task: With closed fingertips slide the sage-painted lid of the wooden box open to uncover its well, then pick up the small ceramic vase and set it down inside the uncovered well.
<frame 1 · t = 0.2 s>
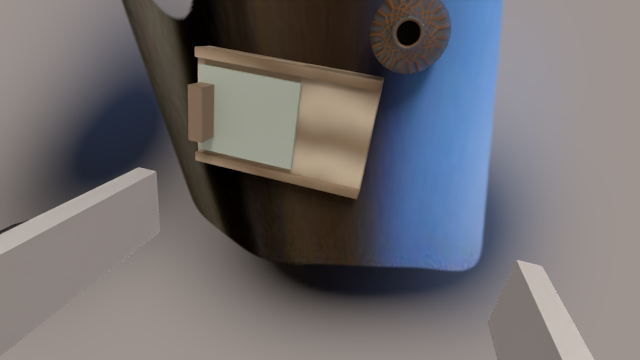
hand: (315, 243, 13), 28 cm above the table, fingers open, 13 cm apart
lid: (242, 120, 38), point 4 cm above the table, slide at 0.0 cm
vase: (409, 33, 34), on the table
wooden box: (287, 118, 41), on the table
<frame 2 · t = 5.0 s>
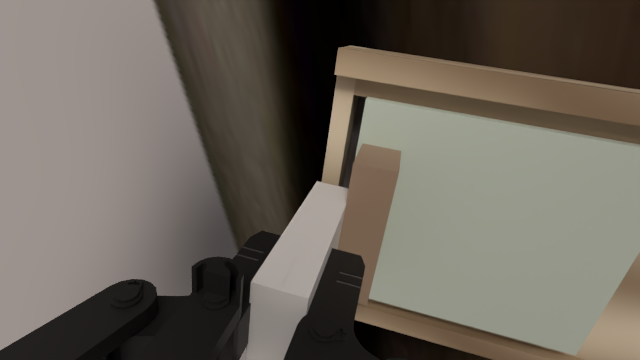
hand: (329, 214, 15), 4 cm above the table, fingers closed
lid: (481, 248, 14), point 4 cm above the table, slide at 0.8 cm, touching gripper
wooden box: (528, 216, 17), on the table
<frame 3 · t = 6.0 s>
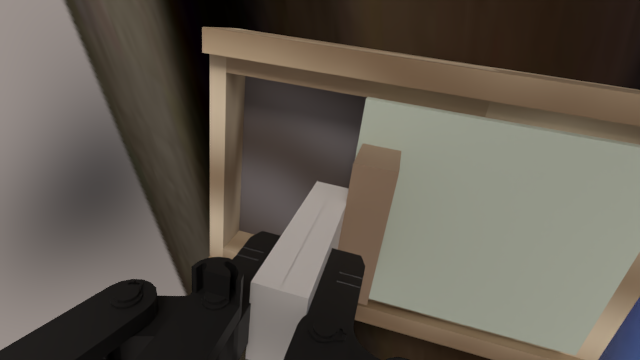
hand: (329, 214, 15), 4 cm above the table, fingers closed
lid: (481, 248, 14), point 4 cm above the table, slide at 6.6 cm, touching gripper
wooden box: (410, 190, 18), on the table
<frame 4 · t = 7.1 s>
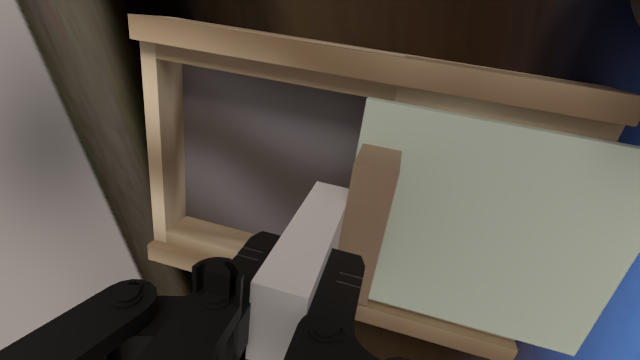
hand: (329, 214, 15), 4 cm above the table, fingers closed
lid: (481, 248, 14), point 4 cm above the table, slide at 10.1 cm, touching gripper
wooden box: (343, 176, 19), on the table
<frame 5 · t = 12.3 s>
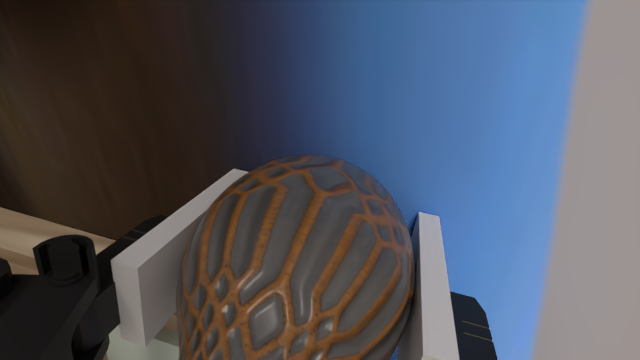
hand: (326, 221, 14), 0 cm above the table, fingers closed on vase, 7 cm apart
vase: (328, 212, 15), on the table, touching gripper
wooden box: (115, 326, 21), on the table
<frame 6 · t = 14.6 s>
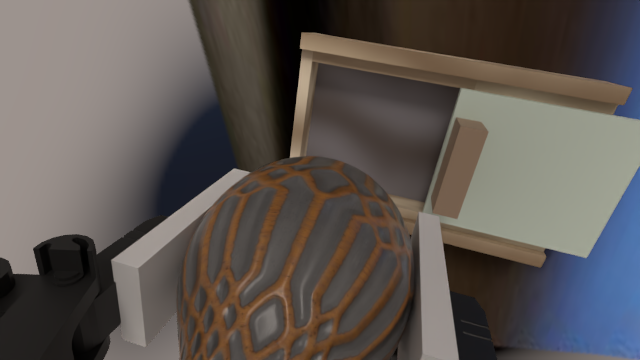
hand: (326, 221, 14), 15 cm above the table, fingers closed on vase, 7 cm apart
lid: (531, 182, 22), point 4 cm above the table, slide at 10.3 cm
vase: (328, 213, 15), point 15 cm above the table, touching gripper
wooden box: (425, 142, 27), on the table
when the fingers open (3 cm above the table, at t = 17.2 s): vase drops 3 cm, resting on wooden box.
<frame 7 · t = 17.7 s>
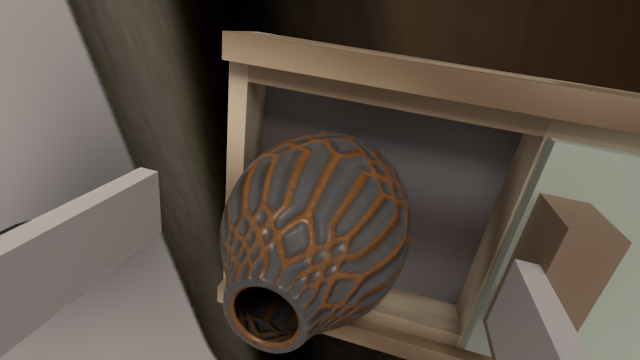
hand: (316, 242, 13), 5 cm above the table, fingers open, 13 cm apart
vase: (340, 186, 17), resting on wooden box
wooden box: (445, 211, 16), on the table
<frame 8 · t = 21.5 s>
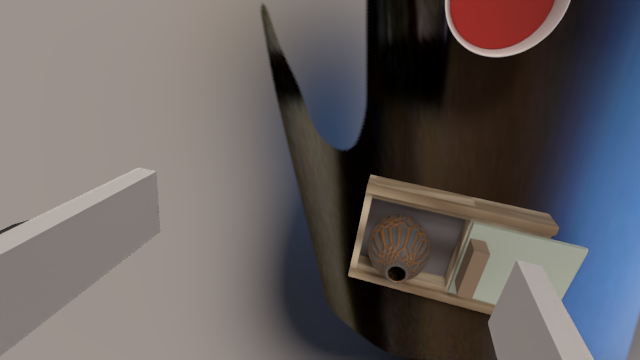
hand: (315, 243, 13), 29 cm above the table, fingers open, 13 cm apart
lid: (515, 278, 38), point 4 cm above the table, slide at 11.4 cm
vase: (399, 230, 43), resting on wooden box
wooden box: (440, 240, 43), on the table
candle: (490, 2, 33), on the table
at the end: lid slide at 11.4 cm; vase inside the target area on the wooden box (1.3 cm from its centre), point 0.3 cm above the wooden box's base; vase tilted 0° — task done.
